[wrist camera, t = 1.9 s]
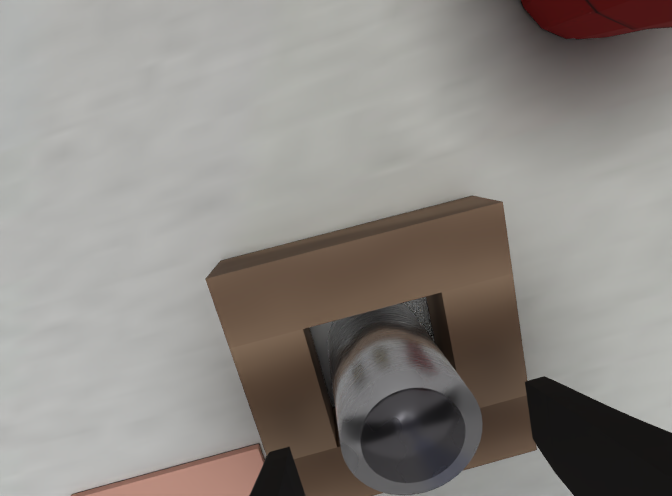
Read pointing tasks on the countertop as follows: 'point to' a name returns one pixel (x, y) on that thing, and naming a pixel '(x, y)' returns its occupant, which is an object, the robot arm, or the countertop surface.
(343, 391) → the metal plug
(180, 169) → the countertop surface
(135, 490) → the rubber mat
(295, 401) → the socket block
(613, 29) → the plastic cup
